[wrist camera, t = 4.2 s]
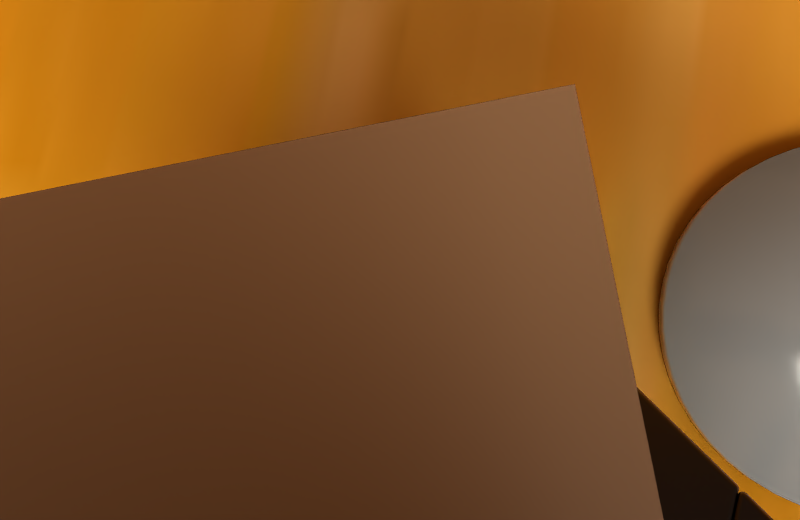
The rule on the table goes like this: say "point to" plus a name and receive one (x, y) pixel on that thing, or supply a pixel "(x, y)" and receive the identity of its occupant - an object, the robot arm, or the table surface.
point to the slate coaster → (741, 322)
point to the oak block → (326, 332)
